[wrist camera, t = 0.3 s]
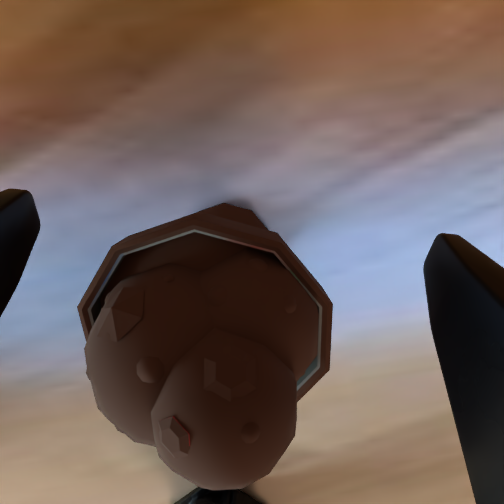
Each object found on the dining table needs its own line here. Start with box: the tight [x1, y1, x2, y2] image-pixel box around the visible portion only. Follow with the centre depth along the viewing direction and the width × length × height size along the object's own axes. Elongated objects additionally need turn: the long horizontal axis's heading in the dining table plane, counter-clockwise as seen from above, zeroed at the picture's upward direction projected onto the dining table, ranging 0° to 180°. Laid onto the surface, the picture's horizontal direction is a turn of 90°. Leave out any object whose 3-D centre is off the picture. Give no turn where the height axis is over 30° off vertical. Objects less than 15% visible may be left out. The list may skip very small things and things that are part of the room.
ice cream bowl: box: [77, 203, 333, 491], centre depth 20 cm, size 11×11×15 cm
